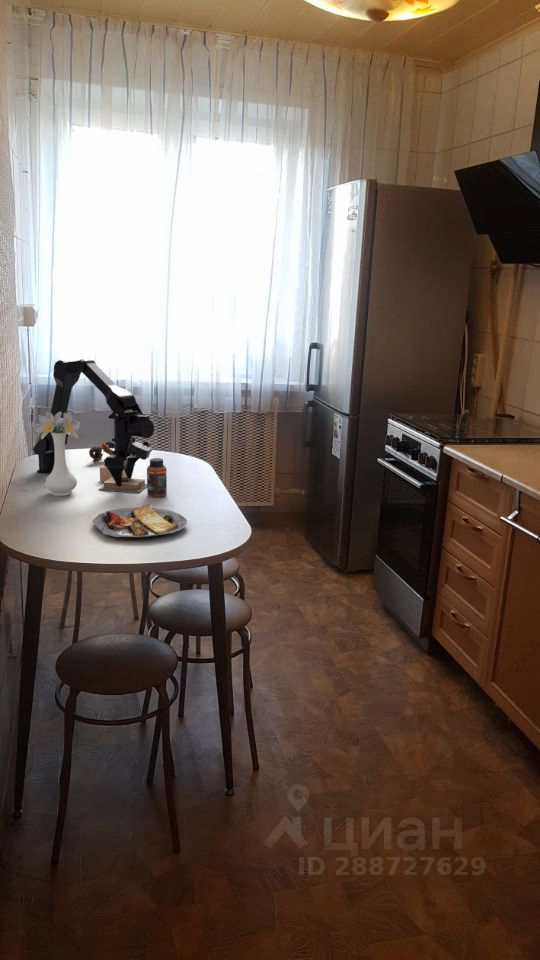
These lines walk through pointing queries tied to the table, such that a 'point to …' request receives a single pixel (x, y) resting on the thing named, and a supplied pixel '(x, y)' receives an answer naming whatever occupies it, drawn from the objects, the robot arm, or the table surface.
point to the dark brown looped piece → (98, 450)
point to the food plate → (139, 521)
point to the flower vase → (59, 451)
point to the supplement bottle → (156, 478)
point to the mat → (124, 490)
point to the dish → (107, 473)
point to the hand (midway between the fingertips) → (124, 482)
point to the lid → (125, 484)
